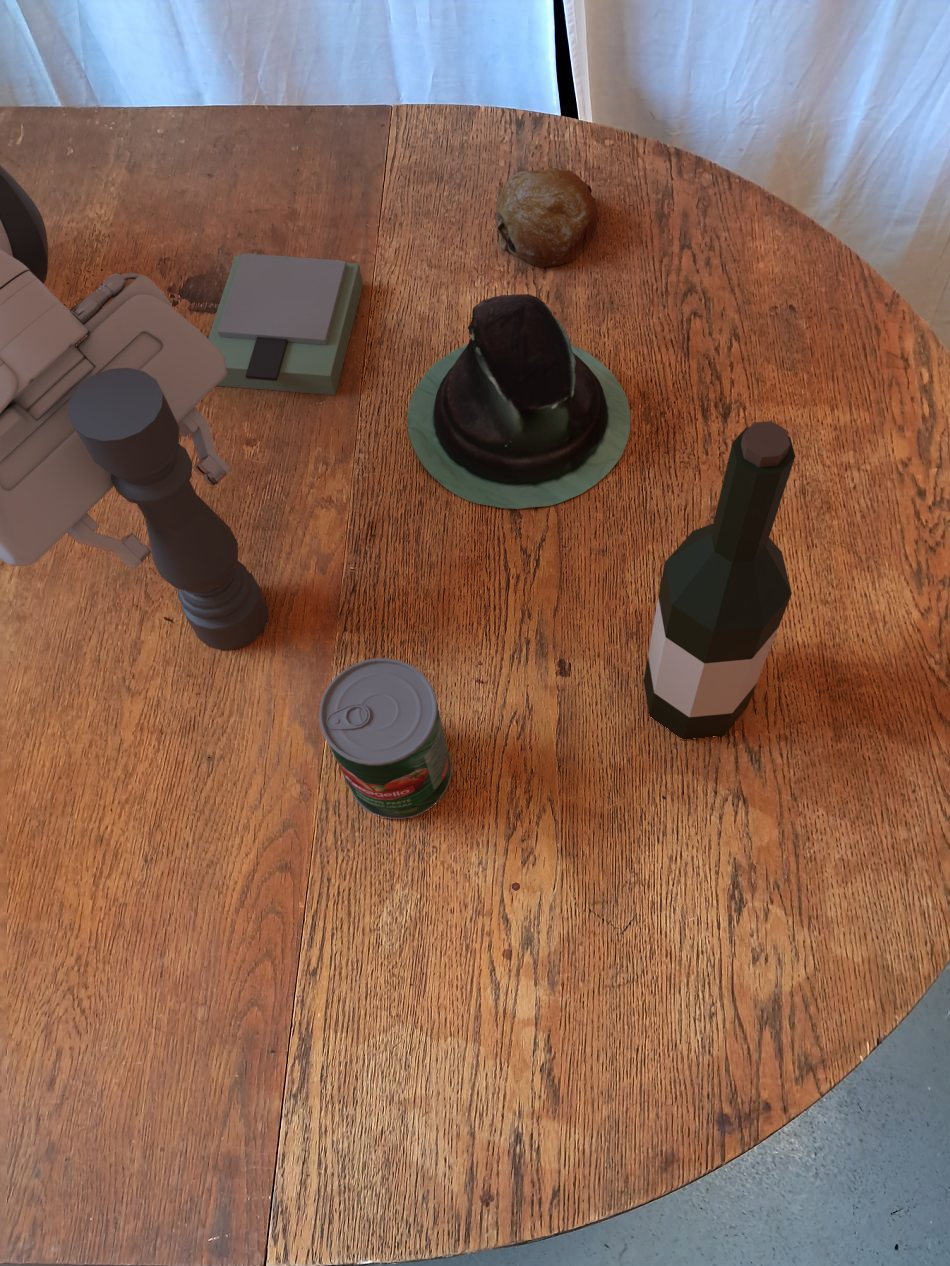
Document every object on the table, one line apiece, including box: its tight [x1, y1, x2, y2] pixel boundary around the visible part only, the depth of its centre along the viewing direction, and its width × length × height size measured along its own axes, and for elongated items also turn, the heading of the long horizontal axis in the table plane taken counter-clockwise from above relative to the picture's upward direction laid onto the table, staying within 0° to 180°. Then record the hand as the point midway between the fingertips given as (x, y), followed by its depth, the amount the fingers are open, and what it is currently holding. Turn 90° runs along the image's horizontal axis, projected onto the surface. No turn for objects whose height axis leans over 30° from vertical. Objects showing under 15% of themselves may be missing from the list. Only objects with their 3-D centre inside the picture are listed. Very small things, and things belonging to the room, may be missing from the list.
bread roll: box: [495, 167, 599, 268], centre depth 102 cm, size 10×10×8 cm
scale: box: [207, 252, 364, 396], centre depth 97 cm, size 12×15×3 cm
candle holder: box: [68, 368, 270, 651], centre depth 74 cm, size 6×6×25 cm
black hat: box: [407, 293, 632, 510], centre depth 91 cm, size 15×19×20 cm
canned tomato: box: [318, 657, 453, 820], centre depth 74 cm, size 8×8×11 cm
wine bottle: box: [643, 420, 796, 740], centre depth 68 cm, size 8×8×30 cm
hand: (182, 518), depth 72 cm, fingers open, 7 cm apart
